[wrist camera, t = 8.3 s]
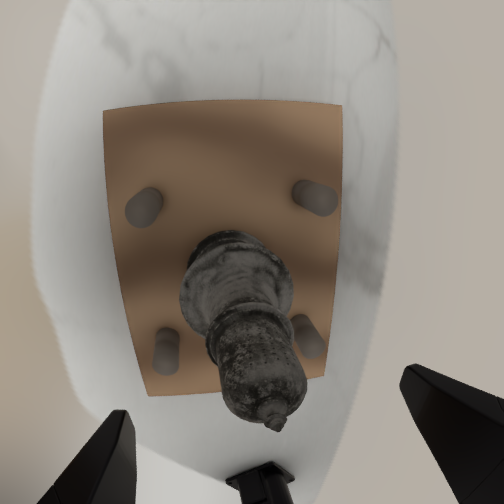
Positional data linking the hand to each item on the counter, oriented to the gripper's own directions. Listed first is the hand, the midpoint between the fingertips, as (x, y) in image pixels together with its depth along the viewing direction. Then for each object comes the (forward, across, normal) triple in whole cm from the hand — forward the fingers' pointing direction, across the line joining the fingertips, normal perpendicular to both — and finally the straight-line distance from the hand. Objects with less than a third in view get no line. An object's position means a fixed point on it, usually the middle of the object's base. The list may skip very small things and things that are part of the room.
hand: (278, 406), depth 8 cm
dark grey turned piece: (+11, 0, 0) cm, 11 cm away
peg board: (+13, 0, 0) cm, 13 cm away
